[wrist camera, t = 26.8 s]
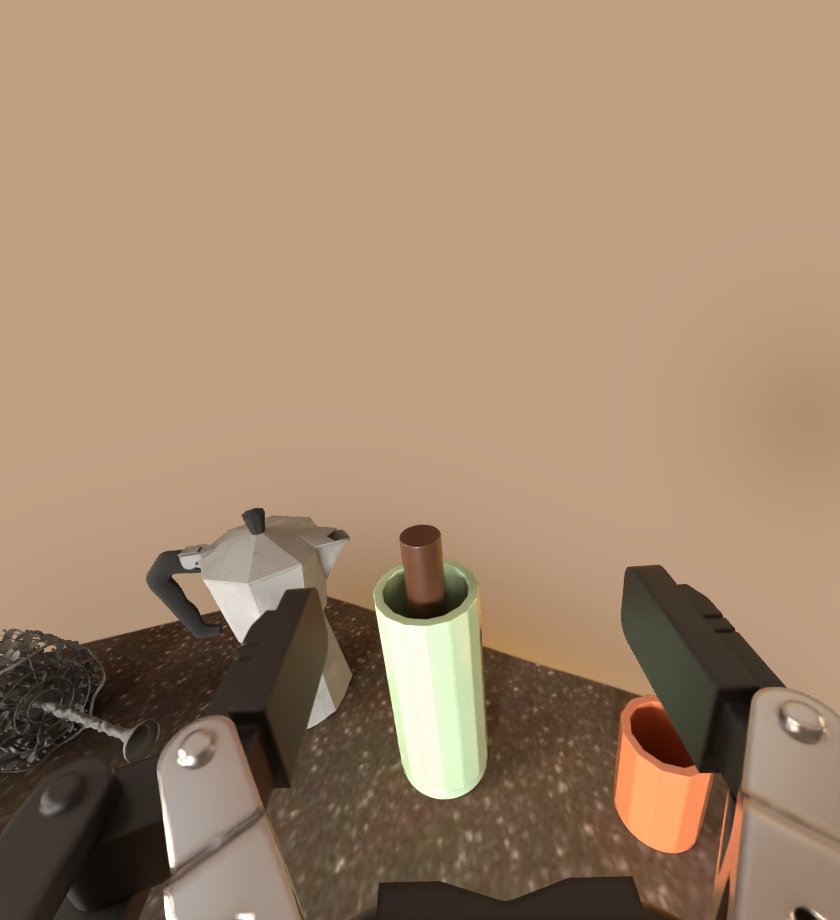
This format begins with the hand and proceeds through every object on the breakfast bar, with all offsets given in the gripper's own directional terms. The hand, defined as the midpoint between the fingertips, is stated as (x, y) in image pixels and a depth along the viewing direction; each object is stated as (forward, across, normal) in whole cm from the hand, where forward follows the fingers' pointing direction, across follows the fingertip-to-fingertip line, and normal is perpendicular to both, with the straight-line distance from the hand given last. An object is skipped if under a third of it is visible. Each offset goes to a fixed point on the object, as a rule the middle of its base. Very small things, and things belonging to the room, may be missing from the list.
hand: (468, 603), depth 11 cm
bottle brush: (+12, +2, +24) cm, 27 cm away
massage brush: (+14, +34, +24) cm, 44 cm away
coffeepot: (+18, +16, +24) cm, 35 cm away
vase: (+12, +2, +24) cm, 27 cm away
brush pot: (+8, -11, +24) cm, 28 cm away
